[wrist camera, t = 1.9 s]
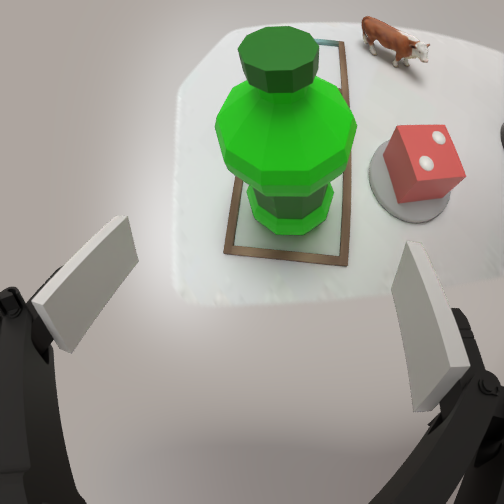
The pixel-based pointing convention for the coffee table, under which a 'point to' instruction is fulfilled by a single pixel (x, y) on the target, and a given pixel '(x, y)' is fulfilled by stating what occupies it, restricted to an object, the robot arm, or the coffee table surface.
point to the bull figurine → (393, 41)
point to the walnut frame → (346, 203)
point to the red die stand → (415, 172)
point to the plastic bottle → (285, 130)
